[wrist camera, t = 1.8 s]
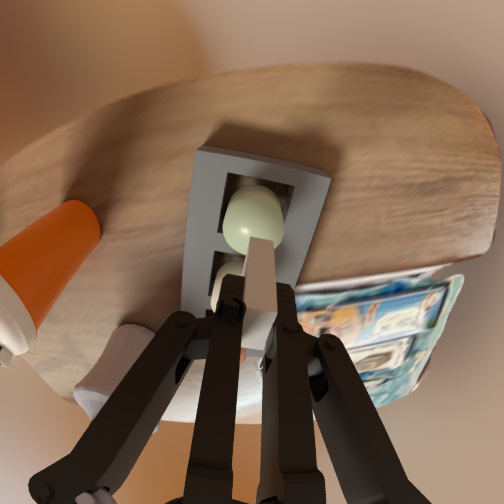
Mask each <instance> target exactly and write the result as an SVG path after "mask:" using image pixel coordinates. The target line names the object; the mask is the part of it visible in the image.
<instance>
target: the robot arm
mask: <svg viewBox="0 0 504 504" xmlns="http://www.w3.org/2000/svg"><path fill="white" fill-rule="evenodd" d="M265 345H266V352H265V354H264V357H263V359H262V362H261V364H260V368H262V366H263V390H262V434H261V469H260V483H259V486H258V489H257V496H256V504H326V490H325V479H324V476H323V474H322V473H321V472H320V471H319V470H318V468H317V463H316V462H317V461H316V447H315V435H314V423H313V412H314V415H315V418H316V420H317V423H318V426H319V429H320V431H321V434H322V437H323V439H324V442H325V445H326V448H327V450H328V453H329V456H330V459H331V462H332V464H333V467H334V470H335V472H336V475H337V478H338V480H339V483H340V486H341V489H342V492H343V495H344V497H345V499H346V501H347V504H432V503H431V502H430V501H429V500H428V499H427V498H426V497H425V496H424V495H423V494H422V493H421V492H420V491H419V490H418V489H417V488H416V487H415V486H414V485H413V484H412V483H411V482H410V481H409V480H408V478H407V476H406V474H405V472H404V469H403V467H402V465H401V462H400V460H399V458H398V456H397V453H396V451H395V449H394V447H393V445H392V442H391V440H390V438H389V436H388V434H387V432H386V430H385V427H384V425H383V423H382V421H381V419H380V417H379V415H378V413H377V411H376V408H375V406H374V404H373V402H372V400H371V398H370V396H369V394H368V392H367V390H366V388H365V386H364V384H363V382H362V380H361V378H360V376H359V374H358V372H357V370H356V368H355V366H354V364H353V362H352V360H351V358H350V356H349V354H348V352H347V351H346V349H345V347H344V345H343V343H342V341H341V340H340V339H339V338H338V337H336V336H335V335H332V334H322V335H321V336H320V337H319V338H317V337H315V336H312V335H310V334H308V333H306V332H304V331H303V328H302V326H301V325H300V324H299V323H298V319H297V311H296V304H295V296H294V290H293V289H292V287H291V286H290V284H285V283H280V282H276V275H275V259H274V243H273V241H271V240H266V239H261V238H256V237H251V236H250V240H249V244H248V248H247V253H246V257H245V262H244V266H243V270H242V276H238V275H233V274H228V273H227V274H226V275H225V276H224V277H223V278H222V283H221V288H220V293H219V298H218V301H217V303H216V310H215V312H214V313H213V314H212V315H211V316H209V317H205V318H196V317H195V316H194V315H193V314H192V313H190V312H187V311H177V312H174V313H172V314H171V315H170V316H169V317H168V319H167V320H166V321H165V323H164V324H163V325H162V326H161V328H160V329H159V330H158V332H157V333H156V334H155V336H154V337H153V338H152V340H151V341H150V342H149V344H148V345H147V346H146V348H145V349H144V350H143V352H142V353H141V354H140V356H139V357H138V358H137V360H136V361H135V363H134V364H133V365H132V367H131V368H130V369H129V371H128V372H127V373H126V375H125V376H124V378H123V379H122V380H121V382H120V383H119V384H118V386H117V387H116V389H115V390H114V391H113V393H112V394H111V395H110V397H109V398H108V400H107V401H106V402H105V404H104V405H103V407H102V408H101V410H100V411H99V412H98V414H97V415H96V417H95V418H94V419H93V421H92V422H91V424H90V425H89V427H88V428H87V429H86V431H85V432H84V434H83V435H82V437H81V438H80V440H79V441H78V443H77V444H76V446H75V447H74V449H73V450H72V451H71V453H70V454H68V455H67V456H65V457H63V458H62V459H60V460H59V461H57V462H55V463H54V464H52V465H50V466H48V467H47V468H45V469H43V470H42V471H40V472H38V473H36V474H35V475H33V476H32V477H31V478H30V480H29V484H28V487H29V492H30V494H31V497H32V498H33V499H34V501H35V502H36V503H37V504H117V503H116V501H115V499H114V498H113V497H112V495H113V494H114V493H115V492H116V491H117V490H118V489H119V488H120V487H121V486H122V484H123V483H124V481H125V480H126V478H127V477H128V475H129V473H130V471H131V469H132V468H133V466H134V464H135V463H136V461H137V459H138V457H139V456H140V454H141V452H142V451H143V449H144V447H145V445H146V444H147V442H148V440H149V438H150V436H151V435H152V433H153V431H154V430H155V428H156V426H157V424H158V423H159V421H160V419H161V417H162V416H163V414H164V412H165V410H166V409H167V407H168V405H169V403H170V402H171V400H172V398H173V396H174V394H175V393H176V391H177V389H178V387H179V386H180V384H181V382H182V380H183V379H184V377H185V375H186V373H187V372H188V370H189V368H190V366H191V365H192V363H193V361H194V360H197V359H206V363H205V368H204V374H203V380H202V385H201V391H200V396H199V402H198V408H197V414H196V420H195V426H194V433H193V438H192V444H191V451H190V457H189V463H188V468H187V474H186V481H185V487H184V496H183V497H180V498H176V499H173V500H171V501H169V502H167V503H165V504H248V503H244V502H241V501H237V500H233V499H232V487H233V470H232V455H233V442H234V429H235V417H236V404H237V392H238V379H239V367H240V354H241V347H244V348H250V349H257V350H264V347H265ZM312 410H313V412H312Z"/></svg>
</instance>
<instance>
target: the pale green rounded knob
mask: <svg viewBox="0 0 504 504" xmlns="http://www.w3.org/2000/svg"><path fill="white" fill-rule="evenodd" d="M284 231H285V226H284V220H283V215H282V210H281V205H280V201H279V199H278V197H277V196H276V194H275V193H274V192H273V191H271V190H270V189H268V188H267V187H264V186H261V185H248V186H244V187H242V188H240V189H239V190H237V191H236V192H235V193H234V194H233V195H232V197H231V199H230V201H229V204H228V207H227V211H226V214H225V218H224V222H223V234H224V237H225V239H226V241H227V243H228V244H229V245H230V246H231V247H232V248H233V249H234V250H235V251H237V252H239V253H241V254H244V255H246V253H247V248H248V244H249V240H250V236H251V237H256V238H261V239H266V240H271V241H273V243H274V249H275V248H276V247H277V246H278V245H279V244H280V242H281V241H282V239H283V236H284Z"/></svg>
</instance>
